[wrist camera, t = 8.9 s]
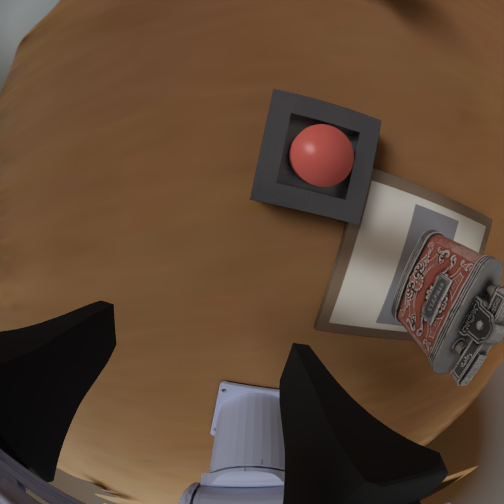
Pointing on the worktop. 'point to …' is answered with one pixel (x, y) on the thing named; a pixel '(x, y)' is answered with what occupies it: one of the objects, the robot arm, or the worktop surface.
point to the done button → (321, 155)
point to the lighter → (451, 304)
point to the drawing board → (389, 253)
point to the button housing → (284, 178)
